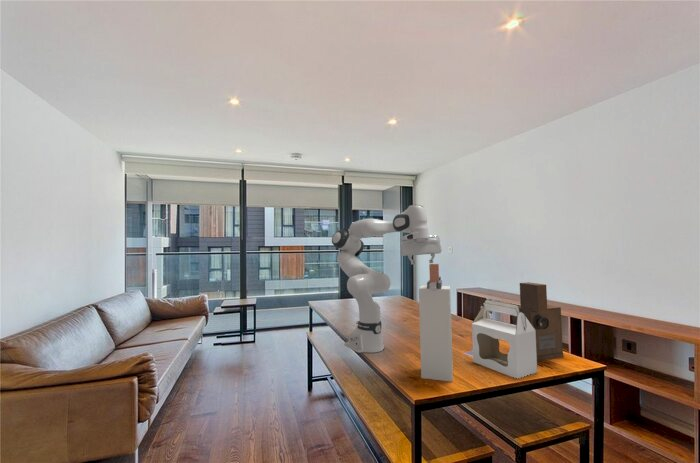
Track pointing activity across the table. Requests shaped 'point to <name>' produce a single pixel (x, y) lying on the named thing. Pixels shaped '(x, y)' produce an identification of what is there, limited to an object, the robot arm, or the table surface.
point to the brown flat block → (434, 276)
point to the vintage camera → (542, 320)
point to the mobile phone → (469, 353)
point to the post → (435, 333)
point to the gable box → (518, 336)
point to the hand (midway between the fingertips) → (422, 263)
